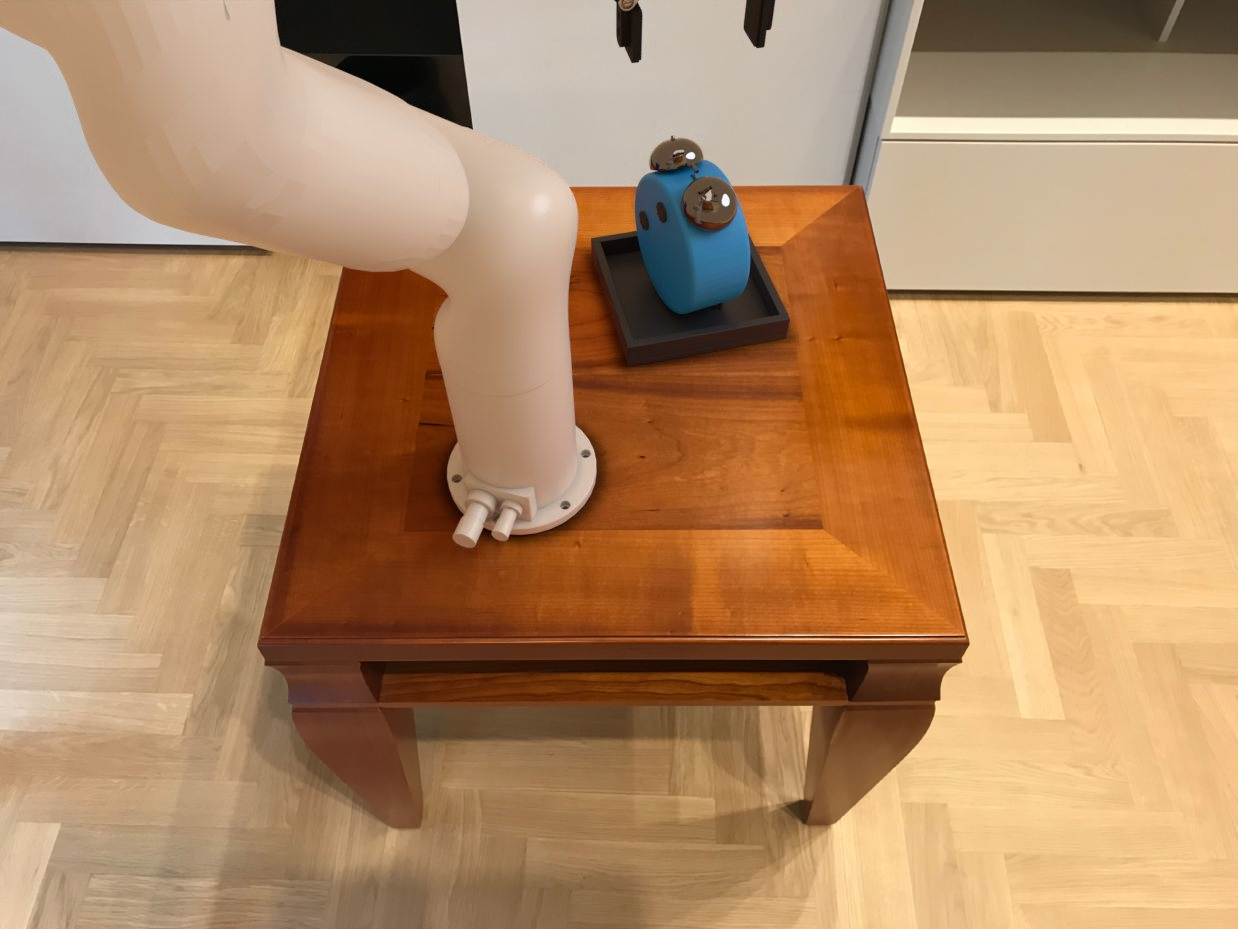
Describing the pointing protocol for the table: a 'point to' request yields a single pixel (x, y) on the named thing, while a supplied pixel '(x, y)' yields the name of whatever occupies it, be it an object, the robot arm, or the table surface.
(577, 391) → the table surface
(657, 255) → the alarm clock
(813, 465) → the table surface
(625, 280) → the tray
